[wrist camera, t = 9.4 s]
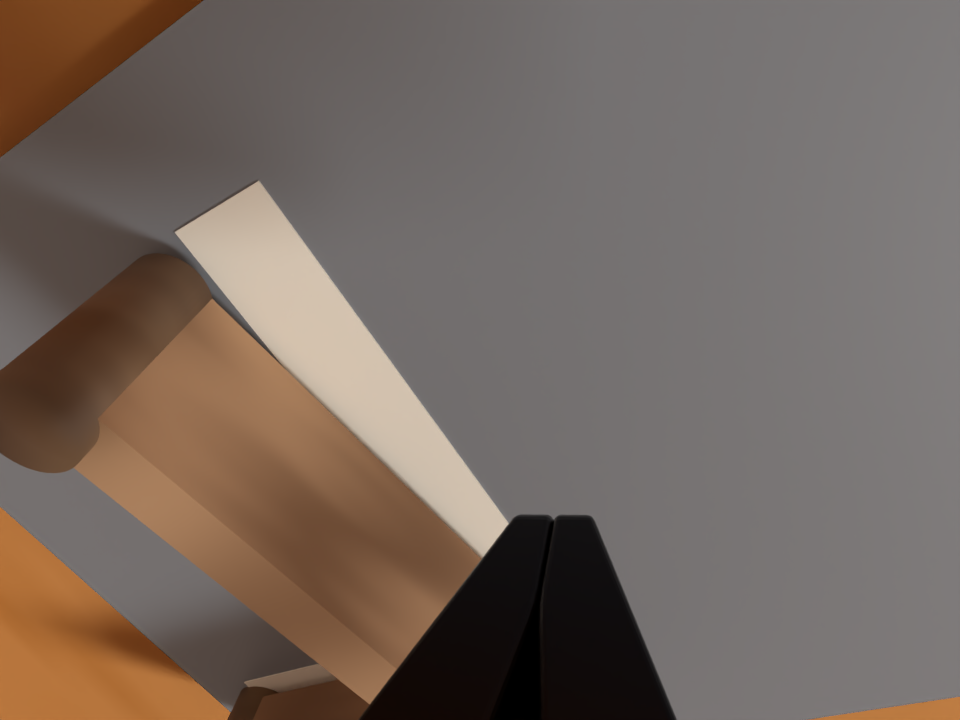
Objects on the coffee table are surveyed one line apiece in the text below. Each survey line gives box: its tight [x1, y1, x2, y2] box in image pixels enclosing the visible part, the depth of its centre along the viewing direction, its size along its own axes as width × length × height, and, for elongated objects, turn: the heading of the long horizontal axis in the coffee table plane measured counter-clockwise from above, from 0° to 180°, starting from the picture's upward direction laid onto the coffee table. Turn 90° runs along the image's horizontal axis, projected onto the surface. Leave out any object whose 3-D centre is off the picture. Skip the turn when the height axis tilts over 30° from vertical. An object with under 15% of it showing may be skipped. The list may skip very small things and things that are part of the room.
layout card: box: [0, 0, 960, 720], centre depth 15 cm, size 24×19×1 cm
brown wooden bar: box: [0, 253, 481, 704], centre depth 13 cm, size 11×2×4 cm, turn 40°
